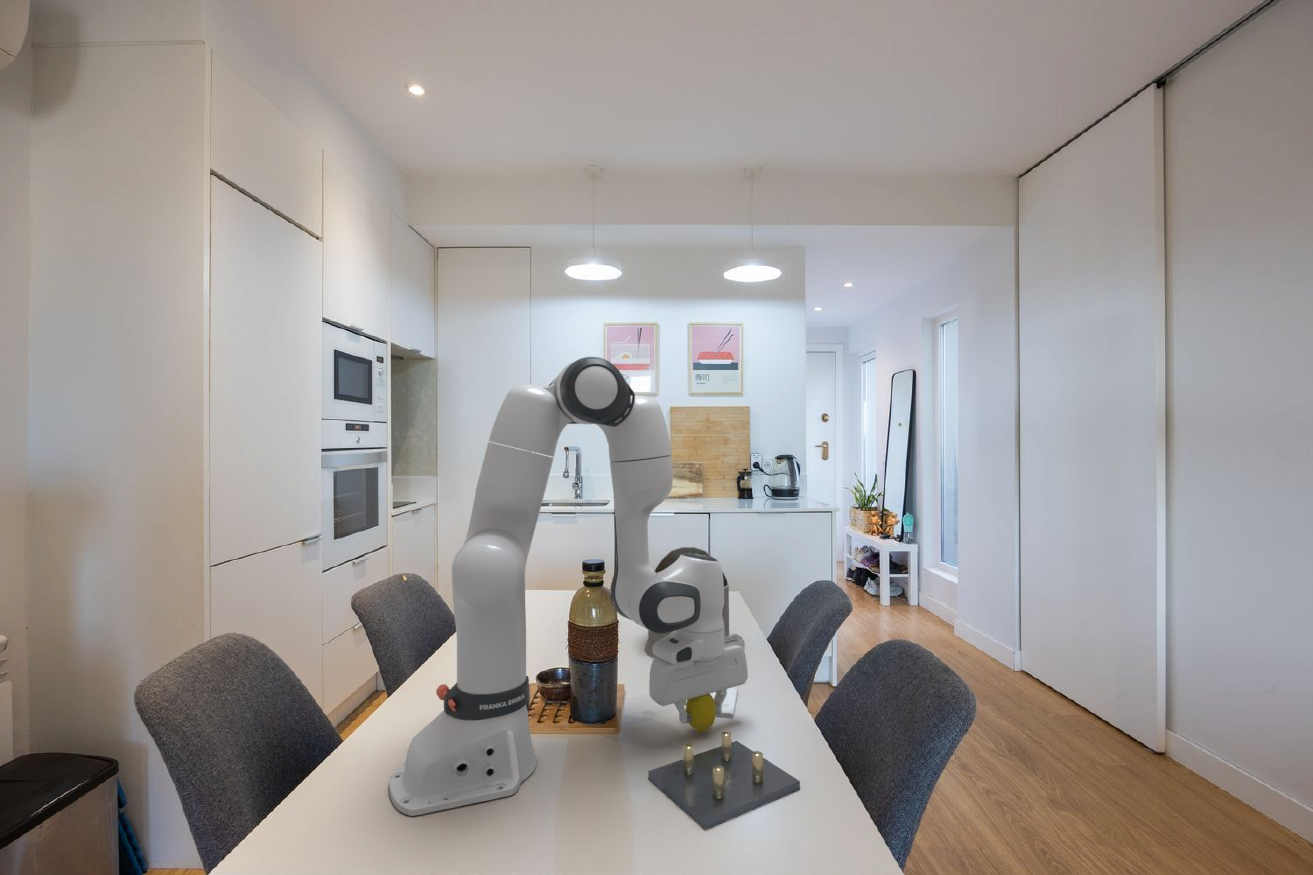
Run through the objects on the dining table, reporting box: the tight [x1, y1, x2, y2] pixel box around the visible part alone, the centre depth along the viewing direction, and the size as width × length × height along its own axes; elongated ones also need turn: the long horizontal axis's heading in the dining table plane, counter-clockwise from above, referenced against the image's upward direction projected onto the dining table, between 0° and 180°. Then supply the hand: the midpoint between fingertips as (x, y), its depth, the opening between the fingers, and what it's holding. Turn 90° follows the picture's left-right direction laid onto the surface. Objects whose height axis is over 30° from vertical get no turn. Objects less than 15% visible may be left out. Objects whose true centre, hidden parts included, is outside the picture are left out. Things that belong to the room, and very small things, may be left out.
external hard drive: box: [710, 687, 739, 719], centre depth 121 cm, size 2×8×12 cm
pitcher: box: [643, 546, 730, 660], centre depth 150 cm, size 23×32×25 cm
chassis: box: [647, 731, 801, 831], centre depth 92 cm, size 18×15×5 cm
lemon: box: [685, 694, 717, 734], centre depth 108 cm, size 6×6×8 cm
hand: (700, 717), depth 108 cm, fingers closed on lemon, 5 cm apart
